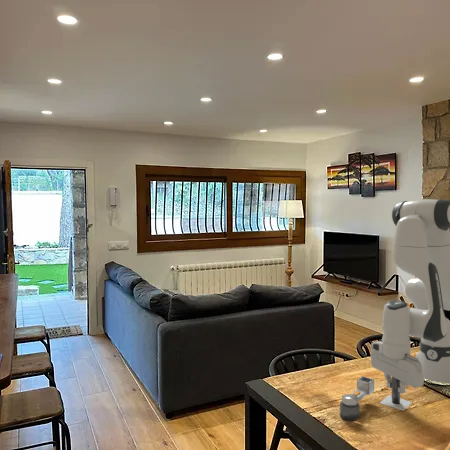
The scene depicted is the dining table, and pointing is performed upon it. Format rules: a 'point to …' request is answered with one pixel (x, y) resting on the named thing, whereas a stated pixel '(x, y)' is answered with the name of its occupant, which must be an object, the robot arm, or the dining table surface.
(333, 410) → the dining table surface
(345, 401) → the crank
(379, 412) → the dining table surface
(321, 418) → the dining table surface
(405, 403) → the mat
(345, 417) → the crank post
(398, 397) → the dark grey post
